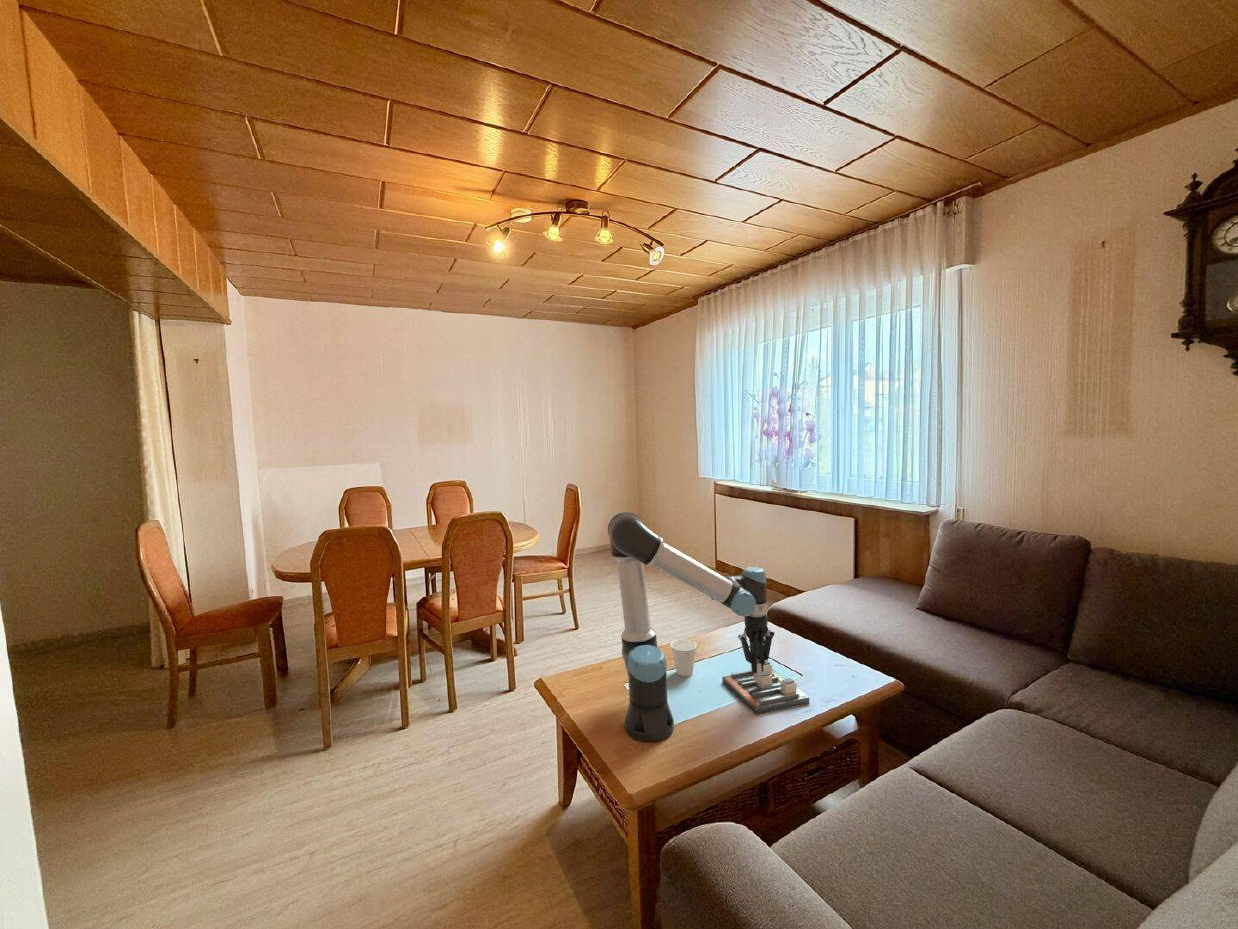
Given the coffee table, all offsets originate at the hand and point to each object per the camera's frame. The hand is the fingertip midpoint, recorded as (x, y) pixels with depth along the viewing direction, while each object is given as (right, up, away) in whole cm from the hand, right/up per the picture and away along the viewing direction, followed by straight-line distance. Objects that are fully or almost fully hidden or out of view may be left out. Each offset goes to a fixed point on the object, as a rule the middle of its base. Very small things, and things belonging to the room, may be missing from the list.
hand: (757, 681), depth 166 cm
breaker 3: (+9, -2, -5) cm, 10 cm away
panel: (+2, -4, +1) cm, 5 cm away
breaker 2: (+3, -2, +1) cm, 3 cm away
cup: (-23, -5, +17) cm, 29 cm away
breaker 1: (+5, -2, +9) cm, 10 cm away
